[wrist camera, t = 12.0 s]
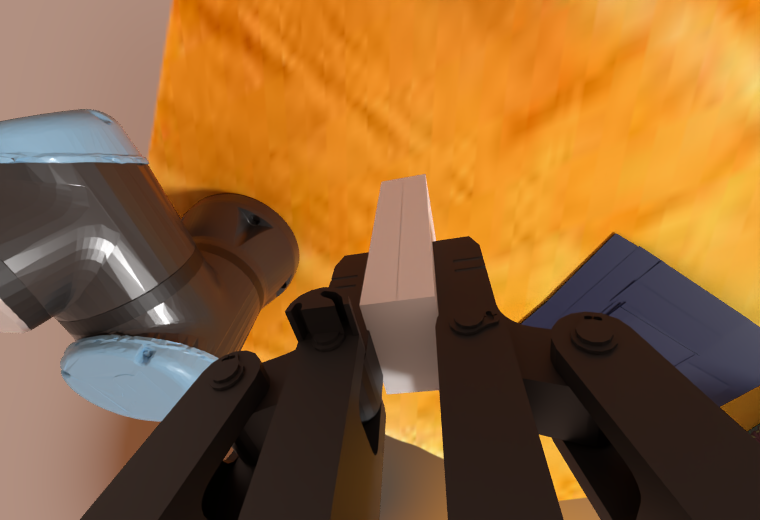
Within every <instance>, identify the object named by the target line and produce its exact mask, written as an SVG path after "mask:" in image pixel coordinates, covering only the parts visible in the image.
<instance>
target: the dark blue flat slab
mask: <svg viewBox="0 0 760 520" xmlns="http://www.w3.org/2000/svg"><path fill="white" fill-rule="evenodd" d="M578 312H595V313H603V314H606V315H609V316H612V317H615V318H617V319H619V320H621V321H622V322H624V323H625V324H627V325H628V326H630V327H631V328H632V329H633V330H634V331H636V332H637V333H638V334H639V335H640V336H641V337H642V338H643V339H644V340H646V341H647V342H648V343H649V344H650V345H651V346H652V347H653V348H654V349H656V350H657V351H658V352H659V353H660V354H661V355H662V356H663V357H664V358H666V359H667V360H668V361H669V362H670V363H671V364H672V365H673V366H674V367H675V368H677V369H678V370H679V371H680V372H681V373H682V374H683V375H684V376H685V377H687V378H688V379H689V380H690V381H691V382H692V383H693V384H694V385H695V386H697V387H698V388H699V389H700V390H701V391H702V392H703V393H704V394H705V395H707V396H708V397H709V398H710V399H711V400H712V401H713V402H714V403H715V404H717V405H718V406H719V407H720V406H722V405H724V404H726V403H728V402H730V401H732V400H733V399H735V398H737V397H739V396H741V395H743V394H745V393H747V392H748V391H750V390H752V389H754V388H756V387H758V386H760V327H759V326H757V325H756V324H754V323H753V322H752V321H750V320H749V319H748V318H746V317H745V316H743V315H742V314H740V313H739V312H737V311H736V310H734V309H733V308H731V307H730V306H728V305H727V304H725V303H724V302H722V301H721V300H719V299H718V298H716V297H715V296H713V295H712V294H710V293H709V292H707V291H706V290H704V289H703V288H701V287H700V286H698V285H697V284H695V283H694V282H692V281H691V280H689V279H688V278H686V277H685V276H683V275H682V274H680V273H679V272H677V271H676V270H674V269H673V268H671V267H670V266H668V265H667V264H665V263H664V262H663V261H661V260H660V259H658V258H657V257H655V256H654V255H652V254H651V253H649V252H648V251H646V250H645V249H643V248H642V247H640V246H639V247H638V246H636V245H635V244H633V243H631V242H630V241H628V240H626V239H625V238H623V237H621V236H620V235H618V234H615V235H614V236H613V237H612V238H611V239H610V240H609V241H608V242H607V243H606V244H605V245H604V246H603V247H601V248H600V249H599V250H598V251H597V252H596V253H595V254H594V255H593V256H592V257H591V258H590V259H589V260H588V261H587V262H586V263H585V264H584V265H583V266H582V267H581V268H580V269H579V270H578V271H577V272H576V273H575V274H574V275H573V276H572V277H571V278H570V279H569V280H568V281H567V282H566V283H565V284H564V285H563V286H562V287H561V288H560V289H559V290H558V291H557V292H556V293H555V294H554V295H553V296H552V297H551V298H550V299H549V300H548V301H547V302H546V303H545V304H544V305H543V306H541V307H540V308H539V309H538V310H537V311H536V312H534V313H533V314H532V315H531V316H530V317H528V318H527V319H526V320H525V321H524V322H522V323H521V324H522V325H526V326H531V327H538V328H546V329H552V327H553V325H554V324H555V323H556V322H557V321H558V320H559V319H560V318H562V317H564V316H566V315H569V314H571V313H578Z"/></svg>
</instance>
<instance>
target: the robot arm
mask: <svg viewBox="0 0 760 520" xmlns="http://www.w3.org/2000/svg"><path fill="white" fill-rule="evenodd" d="M148 164H149V162H148V160H147V159H146V158H145V157H142V155H141V154H140V152H139V151H138V150H137V148H136V147H135V145H134V144H133V143H132V141H131V140H130V138H129V137H128V135H127V134H126V132H125V131H124V129H123V128H122V126H121V125H120V124H119V123H118V122H117V121H116V120H115V119H114V118H112V117H111V116H109V115H107V114H105V113H103V112H100V111H97V110H91V109H80V110H70V111H62V112H54V113H47V114H40V115H34V116H28V117H22V118H16V119H10V120H5V121H0V332H8V333H26V332H28V331H31V330H32V329H34V328H35V327H37V326H39V325H41V324H42V323H44V322H45V321H47V320H49V319H50V318H52V317H55V319H57V320H58V321H59V322H60V324H61V325H62V326H63V327H64V328H65V329H66V330H67V331H68V332H69V333H70V334H71V335H72V337H73V338H74V339H75V342H74V343H72V344H70V345H69V346H68V348H66V350H65V352H64V356H63V357H62V359H61V362H60V367H61V369H62V370H61V374H62V377H63V379H64V380H65V382H66V383H67V384H68V385H69V386H70V388H71V389H72V390H74V391H75V392H76V393H77V394H79V395H80V396H81V397H83V398H85V399H86V400H88V401H89V402H91V403H93V404H95V405H97V406H99V407H101V408H104V409H106V410H108V411H111V412H114V413H117V414H119V415H123V416H128V417H131V418H135V419H141V420H149V421H161V423H160V424H159V425H158V426H157V427H156V429H155V430H154V431H153V432H152V433H151V435H150V436H149V437H148V438H147V439H146V441H145V442H144V443H143V444H142V445H141V447H140V448H139V449H138V450H137V451H136V453H135V454H134V455H133V456H132V458H131V459H130V460H129V461H128V462H127V464H126V465H125V466H124V467H123V469H122V470H121V471H120V472H119V473H118V474H117V476H116V477H115V478H114V479H113V480H112V482H111V483H110V484H109V485H108V487H107V488H106V489H105V490H104V491H103V492H102V494H101V495H100V496H99V497H98V498H97V500H96V501H95V502H94V503H93V504H92V506H91V507H90V508H89V509H88V510H87V512H86V513H85V514H84V515H83V516H82V518H81V519H80V520H379V517H380V502H381V486H382V470H383V453H384V438H385V423H386V413H385V407H384V404H383V401H382V386H383V383H384V386H385V389H386V392H387V394H396V393H409V392H421V391H433V390H439V392H440V407H441V422H442V437H443V452H444V467H445V481H446V497H447V512H448V520H563V516H562V513H561V509H560V506H559V502H558V499H557V496H556V492H555V489H554V485H553V482H552V479H551V475H550V472H549V468H548V465H547V461H546V458H545V455H544V451H543V448H542V444H541V441H540V437H539V434H540V435H544V436H548V437H552V440H553V442H554V443H555V445H556V447H557V448H558V450H559V451H560V453H561V455H562V456H563V458H564V460H565V461H566V463H567V465H568V466H569V468H570V470H571V471H572V473H573V475H574V476H575V478H576V480H577V481H578V483H579V484H580V486H581V488H582V489H583V491H584V493H585V494H586V496H587V498H588V499H589V501H590V502H591V504H592V506H593V507H594V509H595V510H596V512H597V514H598V516H599V517H600V519H601V520H760V443H759V442H758V441H756V440H755V439H754V438H753V437H752V436H751V435H750V434H749V433H748V432H747V431H745V430H744V429H743V428H742V427H741V426H740V425H739V424H738V423H737V422H735V421H734V420H733V419H732V418H731V417H730V416H729V415H728V414H727V413H725V412H724V411H723V410H722V409H721V408H720V407H719V406H718V405H717V404H715V403H714V402H713V401H712V400H711V399H710V398H709V397H708V396H707V395H705V394H704V393H703V392H702V391H701V390H700V389H699V388H698V387H697V386H695V385H694V384H693V383H692V382H691V381H690V380H689V379H688V378H687V377H685V376H684V375H683V374H682V373H681V372H680V371H679V370H678V369H677V368H675V367H674V366H673V365H672V364H671V363H670V362H669V361H668V360H667V359H666V358H664V357H663V356H662V355H661V354H660V353H659V352H658V351H657V350H656V349H654V348H653V347H652V346H651V345H650V344H649V343H648V342H647V341H646V340H644V339H643V338H642V337H641V336H640V335H639V334H638V333H637V332H636V331H634V330H633V329H632V328H631V327H630V326H628V325H627V324H625V323H624V322H622V321H621V320H619V319H617V318H615V317H612V316H609V315H606V314H603V313H595V312H578V313H571V314H569V315H566V316H564V317H562V318H560V319H559V320H558V321H557V322H556V323H555V324H554V325H553V327H552V329H546V328H538V327H531V326H526V325H522V324H519V323H517V322H514V321H512V320H510V319H509V318H507V317H506V316H504V315H503V314H502V313H501V312H500V310H499V309H498V307H497V305H496V302H495V299H494V295H493V291H492V288H491V284H490V281H489V277H488V274H487V270H486V268H485V263H484V260H483V256H482V252H481V249H480V245H479V244H478V243H476V242H475V241H474V240H473V239H472V238H470V237H469V236H467V237H460V238H454V239H447V240H440V241H436V238H435V231H434V225H433V219H432V213H431V206H430V200H429V194H428V188H427V181H426V175H425V174H423V175H417V176H412V177H406V178H401V179H395V180H390V181H384V182H382V183H381V188H380V194H379V199H378V205H377V210H376V216H375V222H374V227H373V233H372V238H371V244H370V249H369V252H368V253H361V254H354V255H348V256H344V257H343V259H342V260H341V261H340V262H339V263H338V264H337V265H336V266H335V269H334V272H333V275H332V278H331V279H332V281H331V282H330V285H329V287H323V288H319V289H315V290H311V291H309V292H307V293H305V294H303V295H301V296H299V297H298V298H297V299H295V300H294V301H293V302H292V303H291V304H290V305H289V307H288V308H287V309H286V311H285V313H286V316H287V318H288V320H289V322H290V324H291V327H292V329H293V331H294V333H295V336H296V338H297V340H298V344H297V347H296V350H294V351H292V352H290V353H287V354H285V355H282V356H280V357H277V358H274V359H271V360H268V361H266V362H263V363H261V361H260V359H259V358H258V356H257V355H256V354H255V353H253V352H250V351H241V349H242V347H243V345H244V342H245V340H246V338H247V336H248V334H249V332H250V330H251V328H252V326H253V324H254V322H255V320H256V318H257V316H258V314H259V312H260V310H261V309H262V308H263V307H265V306H266V305H267V304H269V303H270V302H271V301H272V300H274V299H275V298H276V297H277V296H279V295H280V294H281V293H282V292H284V291H285V290H286V288H287V287H288V286H289V284H290V283H291V281H292V279H293V277H294V275H295V273H296V270H297V268H298V264H299V249H298V244H297V241H296V238H295V236H294V234H293V232H292V230H291V229H290V227H289V226H288V224H287V223H286V222H285V221H284V220H283V219H282V218H281V217H280V216H279V215H278V214H277V213H276V212H275V211H274V210H272V209H271V208H270V207H268V206H266V205H265V204H263V203H261V202H259V201H257V200H255V199H252V198H249V197H246V196H242V195H237V194H217V195H213V196H209V197H207V198H205V199H203V200H201V201H199V202H198V203H197V204H195V205H194V206H193V207H192V208H191V209H190V210H189V211H188V212H187V213H186V214H185V215H184V216H183V217H182V219H180V217H179V216H178V214H177V212H176V211H175V209H174V208H173V206H172V204H171V203H170V201H169V199H168V198H167V196H166V194H165V193H164V191H163V189H162V188H161V186H160V184H159V183H158V181H157V179H156V177H155V176H154V174H153V172H152V171H151V169H150V167H149V166H148ZM231 447H232V448H233V449H234V450H233V452H232V454H231V455H230V456H229V457H228V458H227V459H226V460H224V461H223V459H224V458H225V456H226V454H227V453H228V451H229V450H230V448H231Z"/></svg>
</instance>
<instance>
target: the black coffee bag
mask: <svg viewBox="0 0 760 520" xmlns="http://www.w3.org/2000/svg"><path fill="white" fill-rule="evenodd" d="M747 432H748V433H749V434H750V435H751V436H752V437H753V438H754V439H755V440H756V441H758V442H759V443H760V424H758V425H757V426H755V427H753V428H752V429H750V430H749V431H747Z"/></svg>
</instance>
